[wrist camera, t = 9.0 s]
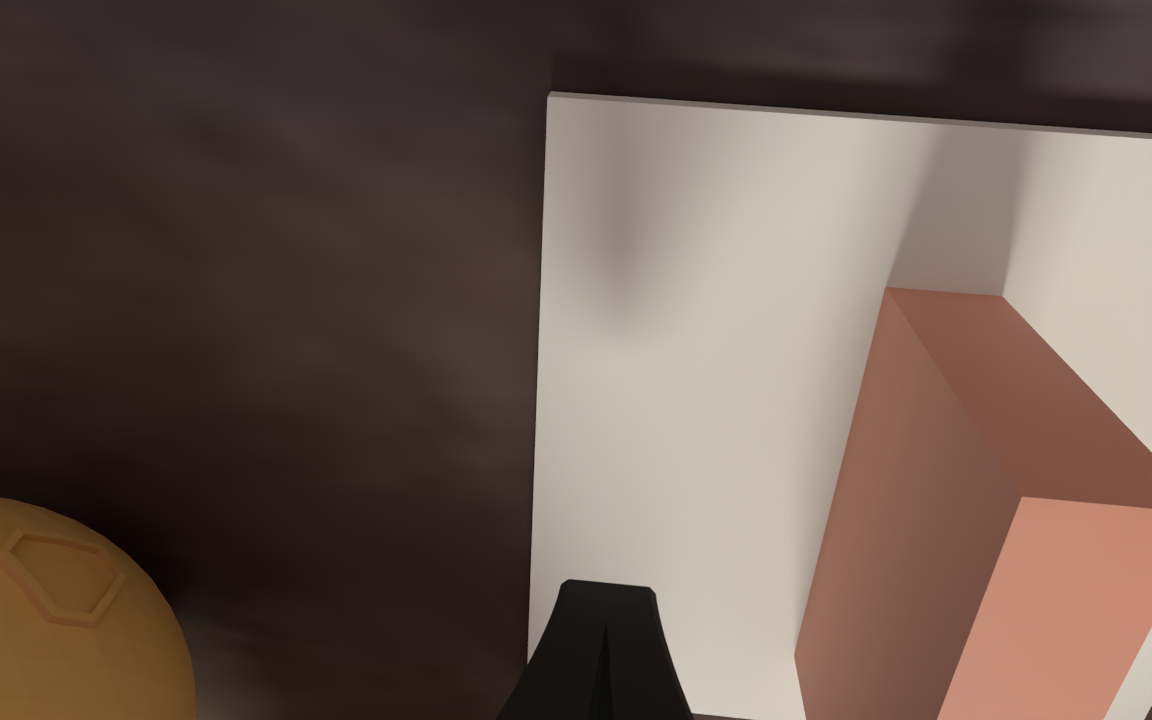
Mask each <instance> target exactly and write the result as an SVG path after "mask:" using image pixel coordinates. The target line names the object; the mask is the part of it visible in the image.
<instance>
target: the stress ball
mask: <svg viewBox="0 0 1152 720" xmlns="http://www.w3.org/2000/svg"><path fill="white" fill-rule="evenodd" d="M0 720H197V710H196V689H195V681H194V674H193V668H192V661H191V657H190V654H189V650H188V647H187V644H186V641H185V638H184V635H183V632H182V629H181V627H180V625H179V623H178V621H177V619H176V617H175V615H174V613H173V611H172V609H171V607H170V605H169V604H168V602H167V601H166V599H165V598H164V596H163V595H162V593H161V592H160V590H159V589H158V588H157V586H156V585H155V583H154V582H153V580H152V579H151V577H150V576H149V575H148V574H147V573H146V572H145V571H144V570H143V569H142V568H141V567H140V566H139V565H138V564H137V563H136V562H135V561H134V560H133V559H132V558H131V557H130V556H129V555H128V554H127V553H125V552H124V551H123V550H121V549H120V548H119V547H117V546H116V545H115V544H113V543H112V542H111V541H110V540H108V539H107V538H106V537H104V536H103V535H101V534H99V533H97V532H95V531H94V530H92V529H90V528H88V527H87V526H85V525H83V524H81V523H80V522H78V521H76V520H73V519H71V518H68V517H66V516H63V515H61V514H58V513H56V512H53V511H51V510H48V509H46V508H43V507H39V506H35V505H32V504H28V503H24V502H21V501H17V500H12V499H6V498H0Z"/></svg>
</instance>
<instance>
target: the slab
mask: <svg viewBox="0 0 1152 720" xmlns="http://www.w3.org/2000/svg"><path fill="white" fill-rule="evenodd" d="M1151 628H1152V452H1151V451H1150V450H1149V449H1148V448H1147V447H1146V446H1145V445H1144V444H1143V443H1142V442H1141V441H1140V440H1139V439H1138V437H1137V436H1136V435H1135V434H1134V433H1133V432H1132V431H1131V430H1130V429H1129V428H1128V427H1127V426H1126V425H1125V424H1124V423H1123V422H1122V421H1121V420H1120V419H1119V418H1118V417H1117V415H1116V414H1115V413H1114V412H1113V411H1112V410H1111V409H1110V408H1109V407H1108V406H1107V405H1106V404H1105V403H1104V402H1103V401H1102V400H1101V399H1100V398H1099V397H1098V396H1097V395H1096V394H1095V392H1094V391H1093V390H1092V389H1091V388H1090V387H1089V386H1088V385H1087V384H1086V383H1085V382H1084V381H1083V380H1082V379H1081V378H1080V377H1079V376H1078V375H1077V374H1076V373H1075V372H1074V370H1073V369H1072V368H1071V367H1070V366H1069V365H1068V364H1067V363H1066V362H1065V361H1064V360H1063V359H1062V358H1061V357H1060V356H1059V355H1058V354H1057V353H1056V352H1055V351H1054V350H1053V348H1052V347H1051V346H1050V345H1049V344H1048V343H1047V342H1046V341H1045V340H1044V339H1043V338H1042V337H1041V336H1040V335H1039V334H1038V333H1037V332H1036V331H1035V330H1034V329H1033V328H1032V327H1031V325H1030V324H1029V323H1028V322H1027V321H1026V320H1025V319H1024V318H1023V317H1022V316H1021V315H1020V314H1019V313H1018V312H1017V311H1016V310H1015V309H1014V308H1013V307H1012V306H1011V305H1010V303H1009V302H1008V301H1007V300H1006V299H1005V298H1004V297H1003V296H993V295H981V294H968V293H956V292H944V291H931V290H919V289H906V288H894V287H885V290H884V294H883V298H882V302H881V306H880V310H879V314H878V318H877V322H876V327H875V331H874V335H873V339H872V343H871V347H870V351H869V355H868V359H867V363H866V367H865V371H864V375H863V379H862V383H861V387H860V391H859V395H858V399H857V403H856V407H855V411H854V415H853V419H852V423H851V427H850V431H849V435H848V440H847V444H846V448H845V452H844V456H843V460H842V464H841V468H840V472H839V476H838V480H837V484H836V488H835V492H834V496H833V500H832V504H831V508H830V512H829V516H828V520H827V524H826V528H825V532H824V536H823V540H822V544H821V549H820V553H819V557H818V561H817V565H816V569H815V573H814V577H813V581H812V585H811V589H810V593H809V597H808V601H807V605H806V609H805V613H804V617H803V621H802V625H801V629H800V633H799V637H798V641H797V645H796V649H795V653H794V659H795V664H796V670H797V675H798V680H799V685H800V690H801V695H802V701H803V706H804V711H805V716H806V720H1104V718H1105V716H1106V714H1107V712H1108V710H1109V708H1110V706H1111V704H1112V702H1113V700H1114V699H1115V697H1116V695H1117V693H1118V691H1119V689H1120V687H1121V685H1122V683H1123V681H1124V679H1125V677H1126V676H1127V674H1128V672H1129V670H1130V668H1131V666H1132V664H1133V662H1134V660H1135V658H1136V656H1137V654H1138V653H1139V651H1140V649H1141V647H1142V645H1143V643H1144V641H1145V639H1146V637H1147V635H1148V633H1149V631H1150V629H1151Z"/></svg>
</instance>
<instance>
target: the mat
mask: <svg viewBox="0 0 1152 720" xmlns="http://www.w3.org/2000/svg"><path fill="white" fill-rule="evenodd" d="M885 287H894V288H906V289H919V290H931V291H944V292H956V293H968V294H981V295H993V296H1003V297H1004V298H1005V299H1006V300H1007V301H1008V302H1009V303H1010V305H1011V306H1012V307H1013V308H1014V309H1015V310H1016V311H1017V312H1018V313H1019V314H1020V315H1021V316H1022V317H1023V318H1024V319H1025V320H1026V321H1027V322H1028V323H1029V324H1030V325H1031V327H1032V328H1033V329H1034V330H1035V331H1036V332H1037V333H1038V334H1039V335H1040V336H1041V337H1042V338H1043V339H1044V340H1045V341H1046V342H1047V343H1048V344H1049V345H1050V346H1051V347H1052V348H1053V350H1054V351H1055V352H1056V353H1057V354H1058V355H1059V356H1060V357H1061V358H1062V359H1063V360H1064V361H1065V362H1066V363H1067V364H1068V365H1069V366H1070V367H1071V368H1072V369H1073V370H1074V372H1075V373H1076V374H1077V375H1078V376H1079V377H1080V378H1081V379H1082V380H1083V381H1084V382H1085V383H1086V384H1087V385H1088V386H1089V387H1090V388H1091V389H1092V390H1093V391H1094V392H1095V394H1096V395H1097V396H1098V397H1099V398H1100V399H1101V400H1102V401H1103V402H1104V403H1105V404H1106V405H1107V406H1108V407H1109V408H1110V409H1111V410H1112V411H1113V412H1114V413H1115V414H1116V415H1117V417H1118V418H1119V419H1120V420H1121V421H1122V422H1123V423H1124V424H1125V425H1126V426H1127V427H1128V428H1129V429H1130V430H1131V431H1132V432H1133V433H1134V434H1135V435H1136V436H1137V437H1138V439H1139V440H1140V441H1141V442H1142V443H1143V444H1144V445H1145V446H1146V447H1147V448H1148V449H1149V450H1150V451H1151V452H1152V133H1139V132H1125V131H1111V130H1096V129H1082V128H1068V127H1053V126H1039V125H1025V124H1010V123H996V122H982V121H968V120H953V119H939V118H925V117H910V116H896V115H882V114H868V113H853V112H839V111H825V110H810V109H796V108H782V107H767V106H753V105H739V104H725V103H710V102H696V101H682V100H667V99H653V98H639V97H625V96H610V95H596V94H582V93H567V92H553V91H551V92H550V94H549V95H548V97H547V124H546V153H545V181H544V209H543V237H542V266H541V294H540V322H539V350H538V379H537V407H536V435H535V463H534V492H533V520H532V548H531V576H530V605H529V633H528V661H527V664H528V663H529V661H530V659H531V657H532V655H533V653H534V651H535V649H536V647H537V645H538V643H539V641H540V639H541V637H542V634H543V632H544V630H545V628H546V626H547V623H548V621H549V619H550V616H551V614H552V611H553V608H554V606H555V603H556V600H557V597H558V593H559V589H560V586H561V584H562V583H563V582H565V581H566V580H568V579H575V580H585V581H596V582H606V583H616V584H626V585H636V586H646V587H650V588H651V589H652V590H653V591H654V592H655V593H656V599H657V605H658V610H659V615H660V620H661V624H662V628H663V631H664V635H665V639H666V642H667V645H668V649H669V652H670V655H671V658H672V661H673V664H674V667H675V670H676V673H677V676H678V679H679V682H680V684H681V687H682V689H683V692H684V695H685V697H686V700H687V702H688V705H689V708H690V710H691V713H698V714H707V715H716V716H726V717H735V718H744V719H754V720H806V716H805V711H804V706H803V701H802V695H801V690H800V685H799V680H798V675H797V670H796V664H795V659H794V653H795V649H796V645H797V641H798V637H799V633H800V629H801V625H802V621H803V617H804V613H805V609H806V605H807V601H808V597H809V593H810V589H811V585H812V581H813V577H814V573H815V569H816V565H817V561H818V557H819V553H820V549H821V544H822V540H823V536H824V532H825V528H826V524H827V520H828V516H829V512H830V508H831V504H832V500H833V496H834V492H835V488H836V484H837V480H838V476H839V472H840V468H841V464H842V460H843V456H844V452H845V448H846V444H847V440H848V435H849V431H850V427H851V423H852V419H853V415H854V411H855V407H856V403H857V399H858V395H859V391H860V387H861V383H862V379H863V375H864V371H865V367H866V363H867V359H868V355H869V351H870V347H871V343H872V339H873V335H874V331H875V327H876V322H877V318H878V314H879V310H880V306H881V302H882V298H883V294H884V290H885ZM1151 706H1152V628H1151V629H1150V631H1149V633H1148V635H1147V637H1146V639H1145V641H1144V643H1143V645H1142V647H1141V649H1140V651H1139V653H1138V654H1137V656H1136V658H1135V660H1134V662H1133V664H1132V666H1131V668H1130V670H1129V672H1128V674H1127V676H1126V677H1125V679H1124V681H1123V683H1122V685H1121V687H1120V689H1119V691H1118V693H1117V695H1116V697H1115V699H1114V700H1113V702H1112V704H1111V706H1110V708H1109V710H1108V712H1107V714H1106V716H1105V718H1104V720H1144V719H1145V717H1146V715H1147V713H1148V711H1149V710H1150V708H1151Z"/></svg>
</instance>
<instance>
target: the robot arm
mask: <svg viewBox="0 0 1152 720" xmlns="http://www.w3.org/2000/svg"><path fill="white" fill-rule="evenodd" d="M496 720H694V718H693V715H692V713H691V710H690V708H689V705H688V702H687V700H686V697H685V695H684V692H683V689H682V687H681V684H680V682H679V679H678V676H677V673H676V670H675V667H674V664H673V661H672V658H671V655H670V652H669V649H668V645H667V642H666V639H665V635H664V631H663V628H662V624H661V620H660V615H659V610H658V605H657V599H656V593H655V592H654V591H653V590H652V589H651V588H650V587H646V586H636V585H626V584H616V583H606V582H596V581H585V580H575V579H568V580H566V581H565V582H563V583H562V584H561V586H560V589H559V593H558V597H557V600H556V603H555V606H554V608H553V611H552V614H551V616H550V619H549V621H548V623H547V626H546V628H545V630H544V632H543V634H542V637H541V639H540V641H539V643H538V645H537V647H536V649H535V651H534V653H533V655H532V657H531V659H530V661H529V663H528V664H527V666H526V668H525V670H524V672H523V674H522V676H521V678H520V679H519V681H518V683H517V685H516V687H515V689H514V690H513V692H512V694H511V696H510V697H509V699H508V700H507V702H506V704H505V705H504V707H503V709H502V710H501V712H500V713H499V715H498V717H497V718H496Z"/></svg>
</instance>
